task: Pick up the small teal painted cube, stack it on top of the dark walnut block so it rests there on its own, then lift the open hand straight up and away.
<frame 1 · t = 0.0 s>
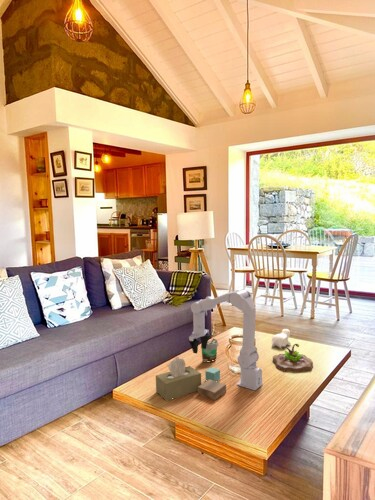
hand: (199, 350, 184), 10 cm above the table, tool pointing down, fingers open, 7 cm apart
walnut block: (212, 394, 160), on the table
teal cube: (212, 380, 173), on the table
plant: (293, 365, 189), on the table
tissue box: (178, 391, 163), on the table
food container: (212, 360, 197), on the table
white animal figurine: (282, 345, 217), on the table
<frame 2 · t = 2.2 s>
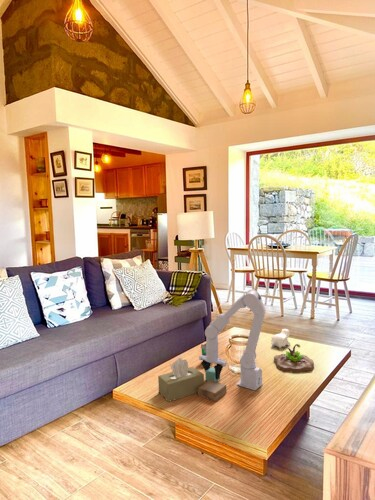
hand: (212, 377, 173), 1 cm above the table, tool pointing down, fingers closed on teal cube, 5 cm apart
teal cube: (212, 380, 173), on the table, touching gripper
tissue box: (181, 392, 162), on the table
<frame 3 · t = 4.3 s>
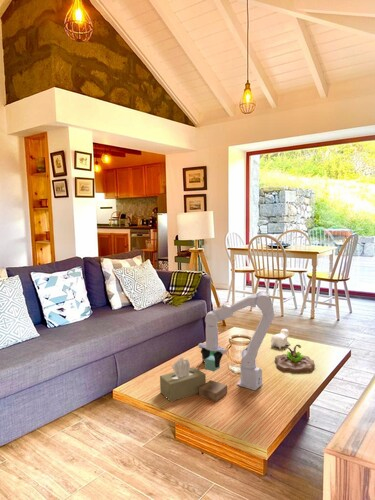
hand: (212, 365, 170), 8 cm above the table, tool pointing down, fingers closed on teal cube, 5 cm apart
teal cube: (212, 368, 170), point 7 cm above the table, touching gripper
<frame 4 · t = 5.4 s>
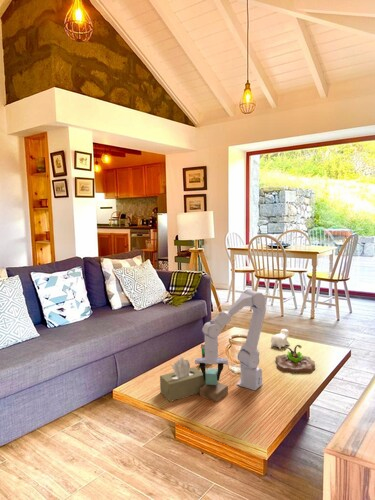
hand: (211, 379, 159), 6 cm above the table, tool pointing down, fingers closed on teal cube, 5 cm apart
teal cube: (212, 381, 160), point 5 cm above the table, touching gripper
when the fingers open (6 cm above the table, at t = 6.3 s): teal cube drops 1 cm, resting on walnut block.
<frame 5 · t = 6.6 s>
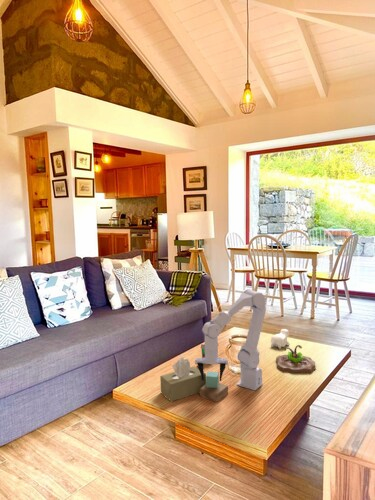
hand: (211, 379, 159), 6 cm above the table, tool pointing down, fingers open, 7 cm apart
walnut block: (214, 395, 159), on the table, touching teal cube
teal cube: (212, 384, 160), point 4 cm above the table, touching walnut block
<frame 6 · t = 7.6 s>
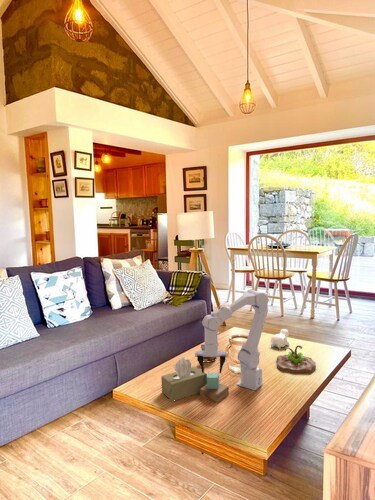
hand: (211, 372, 159), 10 cm above the table, tool pointing down, fingers open, 7 cm apart
walnut block: (214, 396, 158), on the table
teal cube: (213, 386, 159), point 4 cm above the table
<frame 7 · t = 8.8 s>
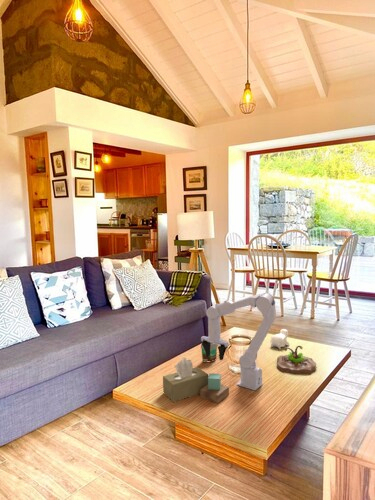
hand: (214, 357, 173), 10 cm above the table, tool pointing down, fingers open, 7 cm apart
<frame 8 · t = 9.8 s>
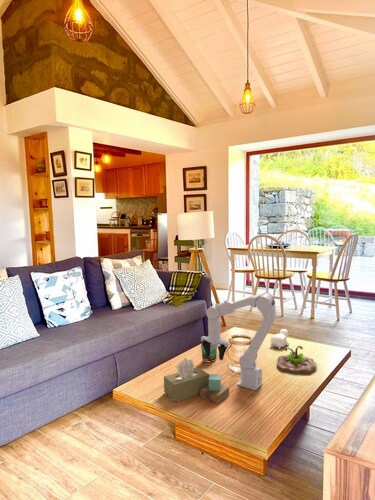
hand: (214, 357, 173), 10 cm above the table, tool pointing down, fingers open, 7 cm apart
walnut block: (214, 397, 157), on the table, touching teal cube
teal cube: (215, 387, 157), point 4 cm above the table, touching walnut block
at the end: teal cube touching walnut block; teal cube tilted 0° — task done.
